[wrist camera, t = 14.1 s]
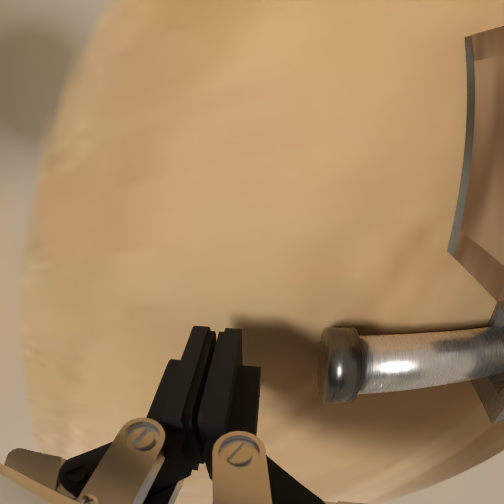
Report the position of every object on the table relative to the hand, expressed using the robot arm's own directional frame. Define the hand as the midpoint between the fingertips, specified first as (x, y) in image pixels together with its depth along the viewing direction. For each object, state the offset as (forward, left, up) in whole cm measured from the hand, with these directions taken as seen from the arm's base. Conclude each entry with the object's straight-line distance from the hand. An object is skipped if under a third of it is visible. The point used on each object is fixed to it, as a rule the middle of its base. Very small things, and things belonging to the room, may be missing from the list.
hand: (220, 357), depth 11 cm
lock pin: (0, -8, -1) cm, 8 cm away
